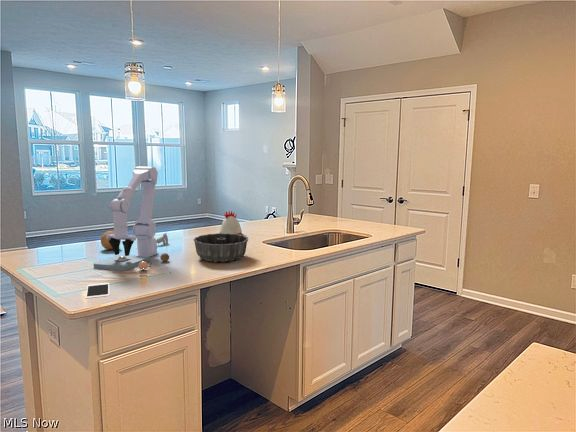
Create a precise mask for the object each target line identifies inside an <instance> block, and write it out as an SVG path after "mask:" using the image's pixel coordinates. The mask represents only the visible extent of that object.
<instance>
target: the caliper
mask: <svg viewBox="0 0 576 432" xmlns="http://www.w3.org/2000/svg"><path fill="white" fill-rule="evenodd" d="M156 241H157V244H161V243H163V245H166V244H169V237H168V235H167V233H162V236H160V237H158V238H156Z"/></svg>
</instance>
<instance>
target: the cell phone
mask: <svg viewBox="0 0 576 432" xmlns="http://www.w3.org/2000/svg"><path fill="white" fill-rule="evenodd" d="M109 296H110V282H103V283H92V284H87V286H86V293H85V298H84V299H94V298H102V297H109Z"/></svg>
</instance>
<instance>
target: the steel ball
mask: <svg viewBox="0 0 576 432" xmlns="http://www.w3.org/2000/svg"><path fill="white" fill-rule="evenodd" d="M126 261H127V258H126V257H125V256H120V257H119V258H118V262H126Z"/></svg>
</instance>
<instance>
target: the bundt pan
mask: <svg viewBox="0 0 576 432" xmlns="http://www.w3.org/2000/svg"><path fill="white" fill-rule="evenodd" d="M193 242H194V247H195V251H196V254H197V256H198V257H199V258H200V259H201V260H203V261H208V262H214V263H218V262H221V263H225V262H233V261H237V260H239V259H241V258H243V257H244V256H245V254H246V251H247V245H248V242H249V237H247V236H245V235H239V234H229V233H227V234H223V233H220V232H219V233H208V234H201V235H198V236H194V238H193Z"/></svg>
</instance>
